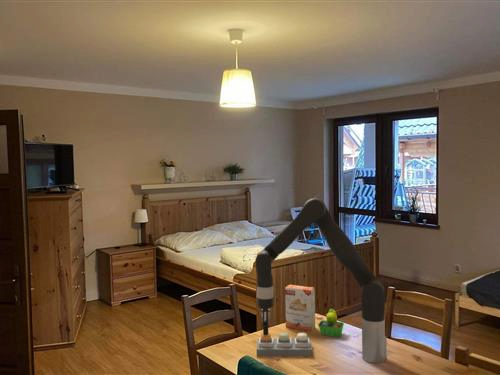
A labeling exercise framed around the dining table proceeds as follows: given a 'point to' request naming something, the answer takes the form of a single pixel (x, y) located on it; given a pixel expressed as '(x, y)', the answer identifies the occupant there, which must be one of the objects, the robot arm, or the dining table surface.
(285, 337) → the sage button
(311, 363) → the dining table surface
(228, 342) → the dining table surface
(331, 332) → the fruit basket
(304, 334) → the cream button
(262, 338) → the orange button
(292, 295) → the cracker box
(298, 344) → the control panel
